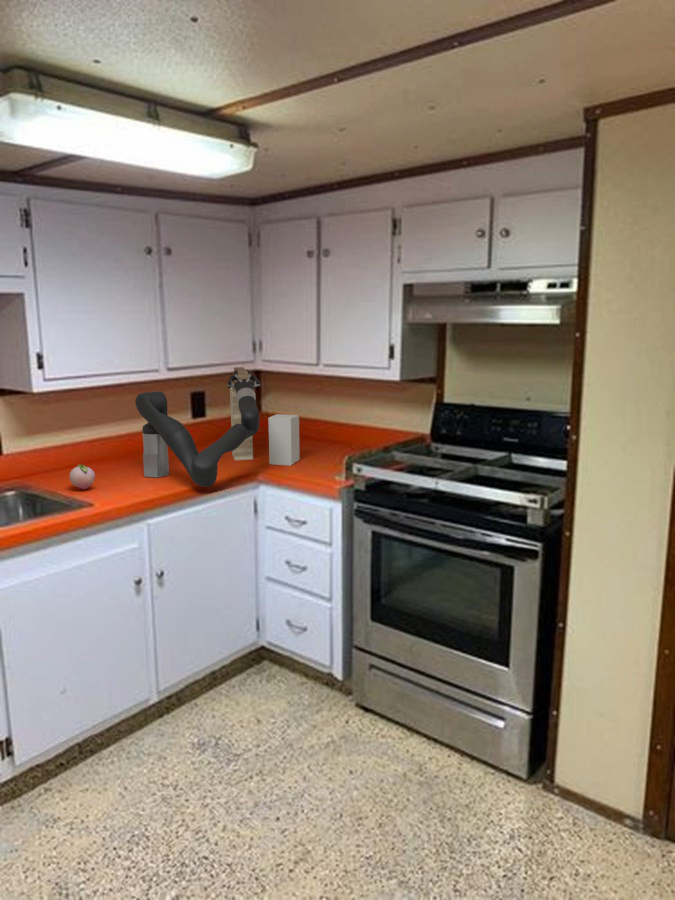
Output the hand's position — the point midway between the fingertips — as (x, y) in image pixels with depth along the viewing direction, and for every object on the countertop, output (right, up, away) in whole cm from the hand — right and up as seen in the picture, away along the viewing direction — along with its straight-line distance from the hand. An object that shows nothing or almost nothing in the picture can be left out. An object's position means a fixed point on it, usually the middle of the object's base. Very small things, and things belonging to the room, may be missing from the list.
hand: (241, 371), depth 291 cm
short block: (+18, -39, +4) cm, 43 cm away
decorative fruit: (-53, -48, -39) cm, 82 cm away
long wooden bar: (-1, -3, +5) cm, 5 cm away
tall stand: (-2, -37, +15) cm, 40 cm away
